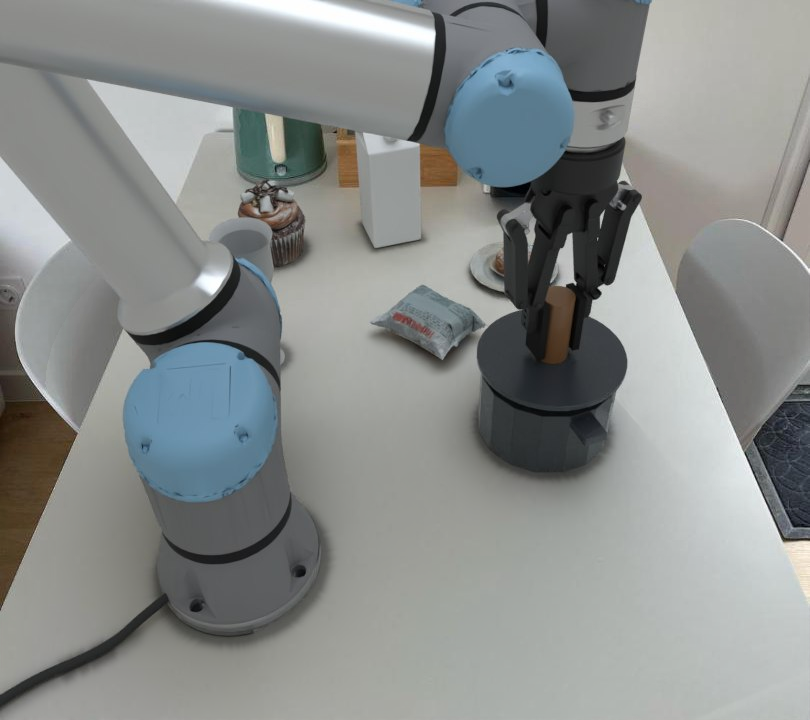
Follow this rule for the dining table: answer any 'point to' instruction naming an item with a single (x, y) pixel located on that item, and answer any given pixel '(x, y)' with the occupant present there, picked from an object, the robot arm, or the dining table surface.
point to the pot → (541, 432)
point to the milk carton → (389, 188)
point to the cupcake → (276, 218)
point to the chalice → (248, 245)
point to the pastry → (494, 266)
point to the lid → (553, 359)
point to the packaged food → (430, 320)
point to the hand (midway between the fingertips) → (552, 346)
